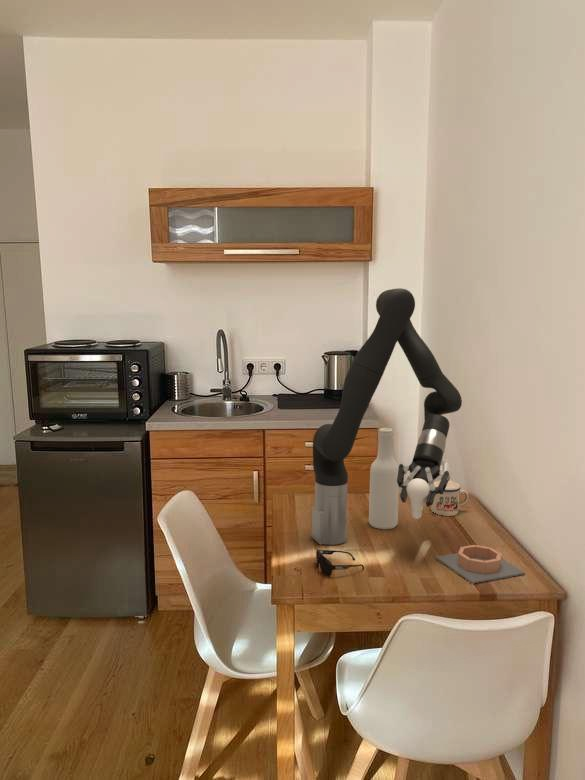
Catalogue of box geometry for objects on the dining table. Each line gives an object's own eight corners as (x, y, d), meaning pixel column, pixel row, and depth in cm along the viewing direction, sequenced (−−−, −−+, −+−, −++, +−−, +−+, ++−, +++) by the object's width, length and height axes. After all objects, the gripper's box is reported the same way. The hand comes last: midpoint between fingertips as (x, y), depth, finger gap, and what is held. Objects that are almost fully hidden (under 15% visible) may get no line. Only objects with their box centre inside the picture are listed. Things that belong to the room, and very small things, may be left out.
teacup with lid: (434, 516, 203) (436, 481, 201) (427, 507, 212) (428, 473, 210) (471, 516, 203) (473, 481, 201) (463, 507, 212) (465, 473, 210)
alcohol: (395, 519, 200) (399, 426, 195) (399, 530, 191) (403, 432, 186) (367, 519, 200) (370, 425, 195) (369, 529, 191) (372, 432, 187)
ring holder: (472, 584, 156) (473, 570, 156) (435, 558, 171) (436, 546, 170) (524, 574, 162) (525, 561, 161) (484, 550, 177) (485, 538, 176)
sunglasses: (309, 562, 168) (312, 544, 168) (350, 562, 172) (353, 544, 172) (324, 579, 158) (327, 560, 158) (367, 579, 162) (370, 560, 162)
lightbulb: (430, 523, 166) (432, 482, 165) (406, 522, 166) (409, 481, 165) (425, 515, 172) (428, 475, 171) (403, 514, 172) (405, 475, 171)
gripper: (402, 438, 176) (386, 491, 168) (454, 445, 170) (440, 501, 161) (407, 453, 182) (391, 505, 173) (457, 460, 175) (444, 514, 167)
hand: (415, 503), depth 167 cm, fingers closed on lightbulb, 6 cm apart
